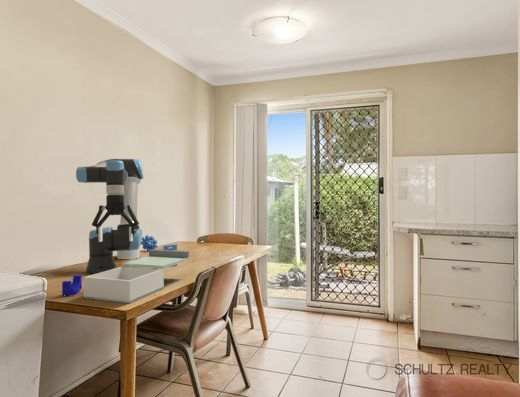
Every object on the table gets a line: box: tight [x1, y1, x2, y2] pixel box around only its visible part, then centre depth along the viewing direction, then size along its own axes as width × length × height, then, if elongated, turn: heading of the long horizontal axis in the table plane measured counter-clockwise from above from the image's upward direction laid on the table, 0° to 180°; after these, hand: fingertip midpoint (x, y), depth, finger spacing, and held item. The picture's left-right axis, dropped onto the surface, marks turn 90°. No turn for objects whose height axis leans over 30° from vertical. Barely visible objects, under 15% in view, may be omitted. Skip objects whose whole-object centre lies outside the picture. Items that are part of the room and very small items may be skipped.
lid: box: [121, 249, 190, 270], centre depth 169 cm, size 22×22×4 cm
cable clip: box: [61, 274, 83, 297], centre depth 152 cm, size 12×4×6 cm, turn 6°
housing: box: [83, 266, 165, 304], centre depth 148 cm, size 22×22×8 cm
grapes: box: [140, 234, 158, 252], centre depth 259 cm, size 12×7×12 cm, turn 106°
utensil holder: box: [116, 246, 141, 260], centre depth 234 cm, size 15×15×18 cm
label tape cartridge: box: [162, 243, 178, 267], centre depth 205 cm, size 9×4×12 cm, turn 133°
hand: (115, 241), depth 162 cm, fingers open, 13 cm apart
